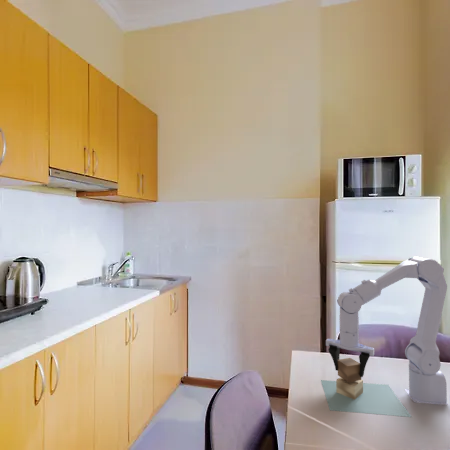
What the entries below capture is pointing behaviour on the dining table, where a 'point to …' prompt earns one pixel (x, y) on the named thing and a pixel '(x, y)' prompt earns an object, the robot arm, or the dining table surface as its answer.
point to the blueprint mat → (365, 400)
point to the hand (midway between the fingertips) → (349, 372)
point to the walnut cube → (349, 369)
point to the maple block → (349, 388)
